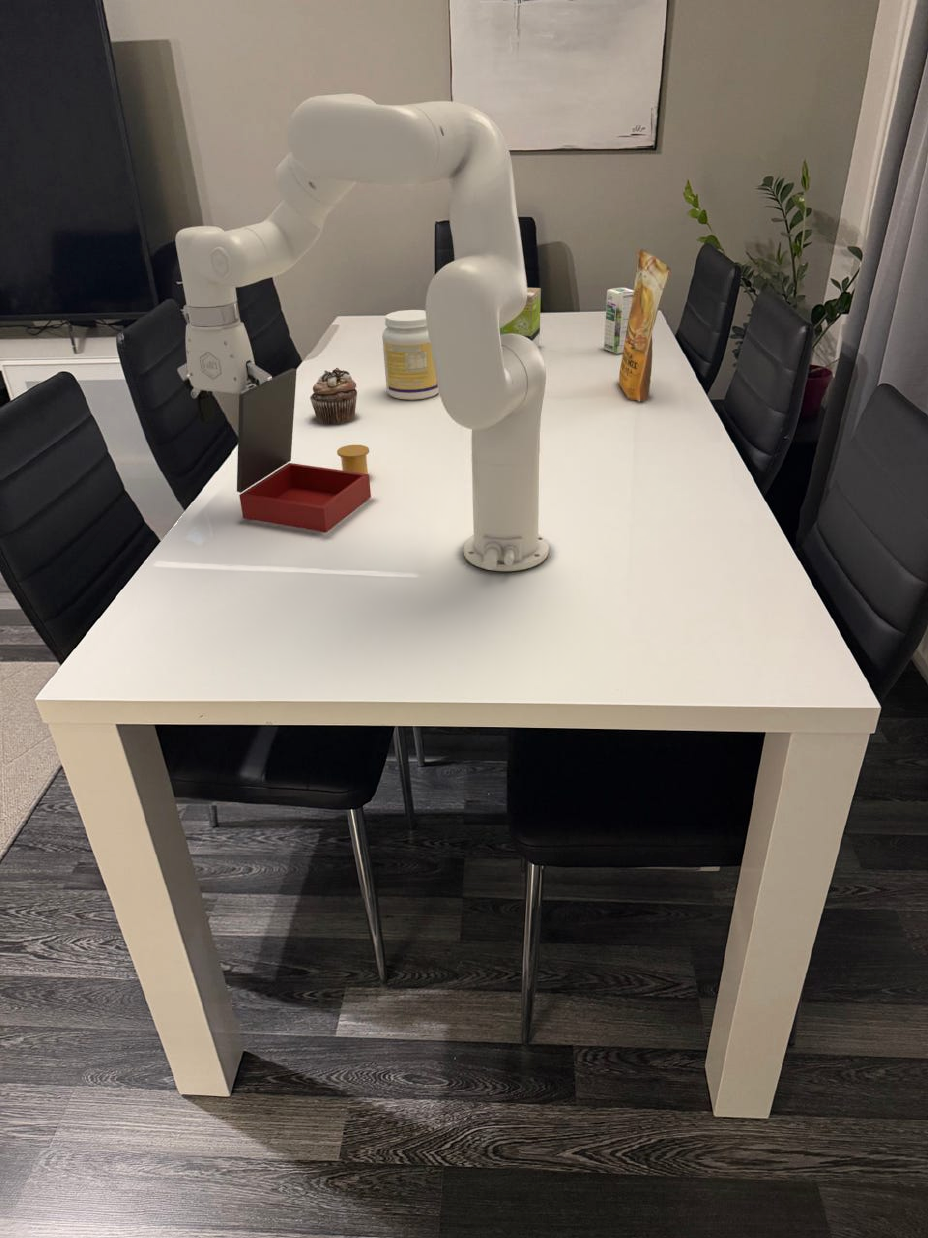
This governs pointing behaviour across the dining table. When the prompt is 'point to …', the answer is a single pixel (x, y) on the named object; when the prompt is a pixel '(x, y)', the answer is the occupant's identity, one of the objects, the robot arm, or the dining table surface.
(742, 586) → the dining table surface
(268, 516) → the red open tray
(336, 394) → the cupcake
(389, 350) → the supplement tub
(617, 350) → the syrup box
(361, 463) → the brass drawer pull
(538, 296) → the tea box
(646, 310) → the pancake mix bag
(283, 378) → the lid
